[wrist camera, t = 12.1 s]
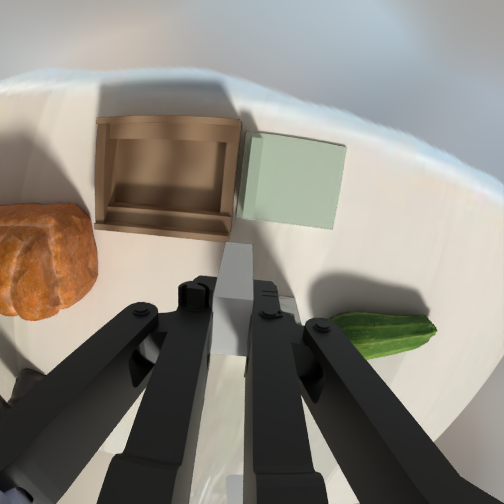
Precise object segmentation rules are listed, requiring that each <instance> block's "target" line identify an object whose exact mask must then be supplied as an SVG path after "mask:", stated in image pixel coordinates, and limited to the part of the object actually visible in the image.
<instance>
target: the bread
mask: <svg viewBox="0 0 504 504" xmlns="http://www.w3.org/2000/svg"><path fill="white" fill-rule="evenodd" d="M97 276H98V260H97V248H96V244H95V240H94V236H93V231H92V225H91V220H90V218H89V217H88V216H87V215H86V214H85V213H84V212H83V211H82V210H81V209H80V208H79V207H78V206H77V205H74V204H71V203H54V204H49V205H42V204H39V203H22V204H14V205H0V314H2V315H4V316H17V315H19V316H20V317H21V318H22V319H24V320H29V321H37V320H41V319H45V318H50V317H51V316H53V315H55V314H57V313H58V312H59V310H60V309H65V308H69V307H71V306H72V305H73V304H75V303H76V302H78V301H79V300H81V299H82V298H83V297H84V296H85V295H86V294H87V293H88V292H89V291H90V290H91V288H92V287H93V285H94V283H95V282H96V279H97Z"/></svg>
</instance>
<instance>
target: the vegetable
mask: <svg viewBox="0 0 504 504" xmlns="http://www.w3.org/2000/svg"><path fill="white" fill-rule="evenodd" d="M329 320H330V321H332V322H334V323H335V324H336V325H337V326H338V327H339V328H340V330H341V331H342V332H343V333H344V334H345V335H346V337H347V338H348V339H349V340H350V341H351V343H352V344H353V345H354V346H355V347H356V349H357V350H358V351H359V352H360V353H361V355H362V356H363V357H364V358H365V359H366V360H369V359H373V358H378V357H384V356H389V355H393V354H397V353H401V352H405V351H409V350H413V349H416V348H418V347H420V346H422V345H423V344H425V343H427V342H428V341H429V339H430V338H431V337H432V336H434V335H435V333H436V332H437V329H436V327H435V325H434V324H432V322H431V321H430V320H429V319H428V318H427V317H426V316H425V315H406V316H394V315H384V314H377V313H369V312H345V313H340V314H337V315H335V316H333V317H331V318H330V319H329Z"/></svg>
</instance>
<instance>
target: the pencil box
mask: <svg viewBox="0 0 504 504" xmlns="http://www.w3.org/2000/svg"><path fill="white" fill-rule="evenodd" d="M96 124H98V128H97V141H96V161H95V221H96V223H94V229H96V230H106V231H117V232H127V233H137V234H147V235H157V236H167V237H177V238H187V239H197V240H206V241H216V242H228V239H229V235H230V232H231V224H232V213H233V203H234V193H235V183H236V173H237V163H238V154H239V145H240V136H241V127H242V122H241V121H240V119H230V118H216V117H198V116H116V117H99V118H97V120H96Z"/></svg>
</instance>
